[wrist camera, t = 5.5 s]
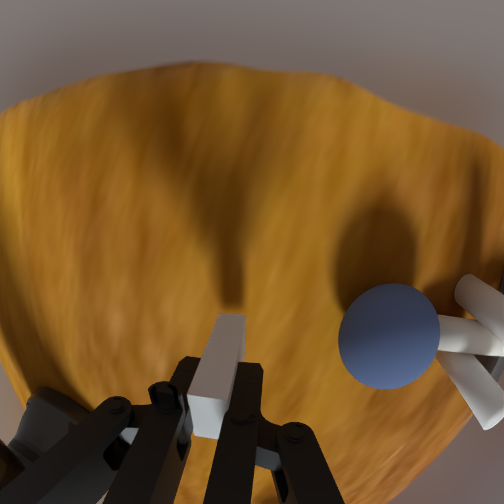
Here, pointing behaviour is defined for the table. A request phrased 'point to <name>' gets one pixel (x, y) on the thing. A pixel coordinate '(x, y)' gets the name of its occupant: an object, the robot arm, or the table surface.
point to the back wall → (493, 363)
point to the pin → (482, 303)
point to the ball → (389, 336)
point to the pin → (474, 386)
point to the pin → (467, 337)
